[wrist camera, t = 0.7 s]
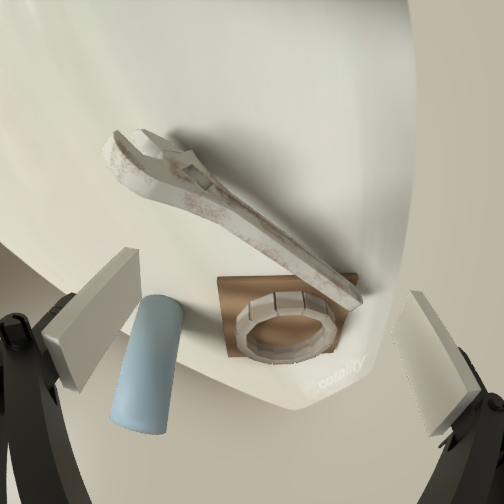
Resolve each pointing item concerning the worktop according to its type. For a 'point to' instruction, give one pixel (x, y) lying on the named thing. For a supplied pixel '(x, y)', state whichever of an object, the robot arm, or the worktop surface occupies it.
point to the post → (149, 367)
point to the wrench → (216, 206)
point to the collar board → (278, 318)
